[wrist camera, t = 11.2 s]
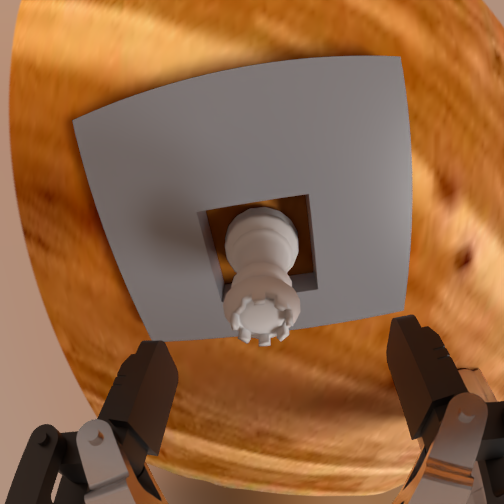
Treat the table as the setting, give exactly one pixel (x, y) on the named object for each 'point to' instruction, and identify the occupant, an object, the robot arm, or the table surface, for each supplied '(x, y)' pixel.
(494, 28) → the table surface
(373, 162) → the socket dock
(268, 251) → the rook chess piece
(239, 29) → the table surface
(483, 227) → the table surface
